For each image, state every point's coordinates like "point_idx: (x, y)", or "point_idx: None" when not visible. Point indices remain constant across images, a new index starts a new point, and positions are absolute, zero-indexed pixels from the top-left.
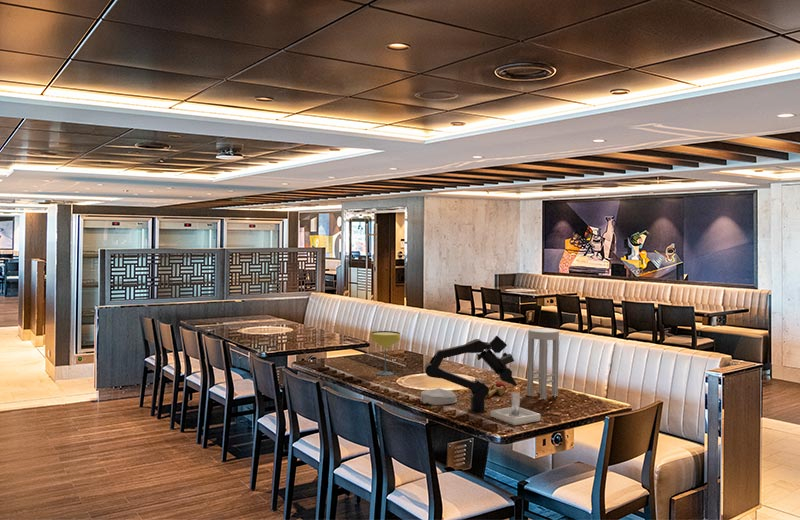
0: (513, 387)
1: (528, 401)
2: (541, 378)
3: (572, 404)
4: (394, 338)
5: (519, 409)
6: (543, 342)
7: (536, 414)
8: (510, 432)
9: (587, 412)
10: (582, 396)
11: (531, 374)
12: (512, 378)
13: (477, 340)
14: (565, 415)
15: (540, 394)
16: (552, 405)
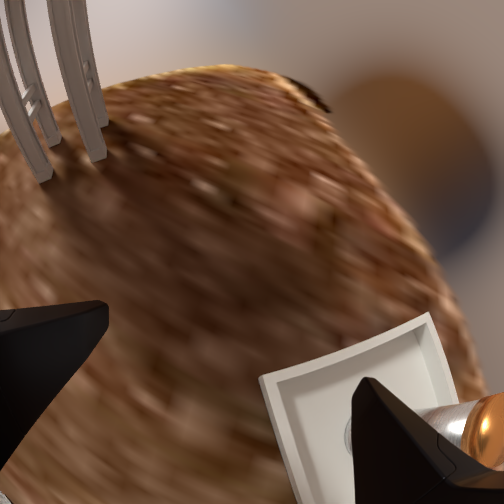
0: (495, 450)
1: (93, 212)
2: (72, 96)
3: (203, 117)
4: None
5: (300, 375)
6: None
7: (433, 333)
8: (493, 467)
9: (305, 127)
10: (144, 84)
11: (21, 112)
12: (451, 455)
13: None
14: (339, 192)
15: (87, 150)
16: (187, 162)
